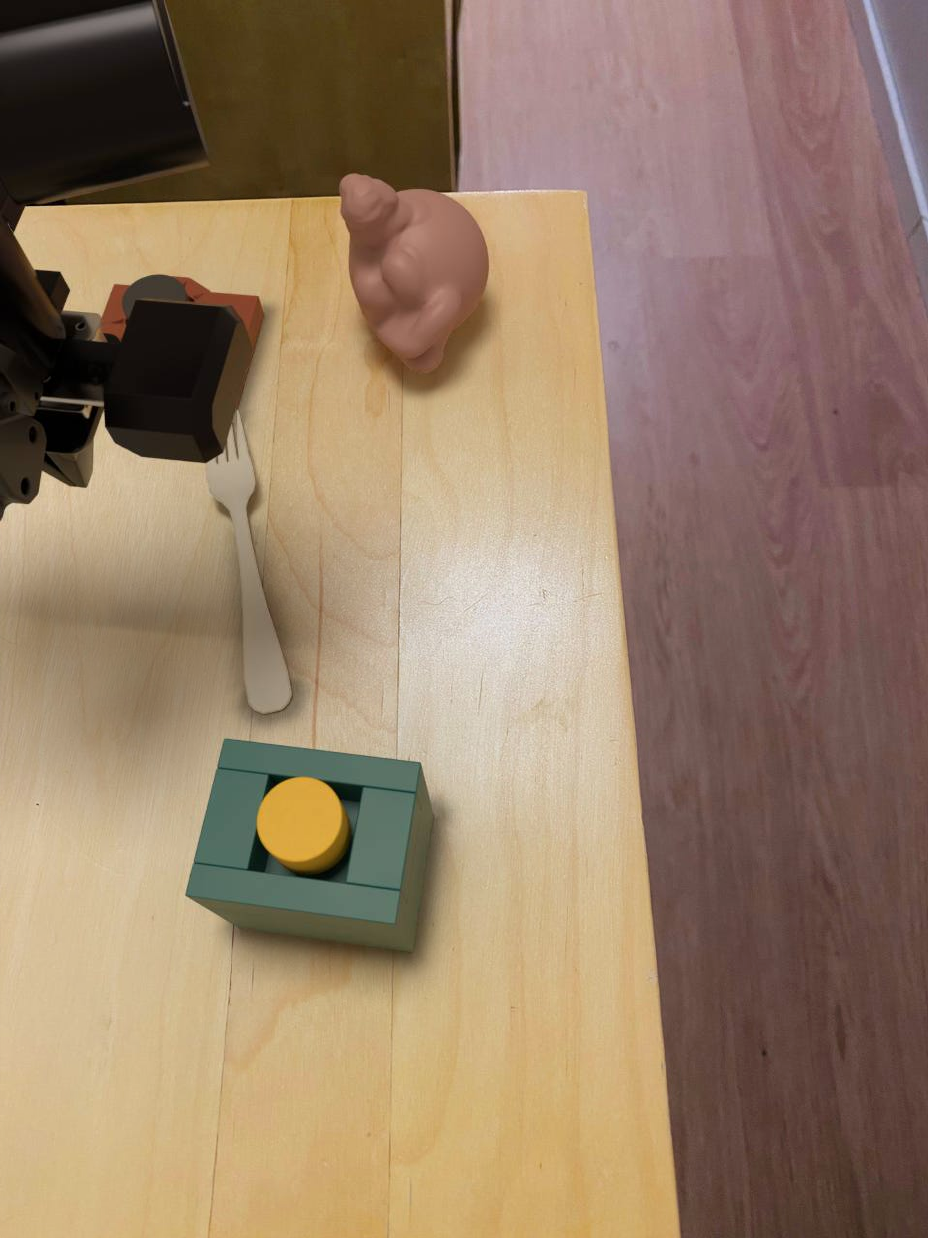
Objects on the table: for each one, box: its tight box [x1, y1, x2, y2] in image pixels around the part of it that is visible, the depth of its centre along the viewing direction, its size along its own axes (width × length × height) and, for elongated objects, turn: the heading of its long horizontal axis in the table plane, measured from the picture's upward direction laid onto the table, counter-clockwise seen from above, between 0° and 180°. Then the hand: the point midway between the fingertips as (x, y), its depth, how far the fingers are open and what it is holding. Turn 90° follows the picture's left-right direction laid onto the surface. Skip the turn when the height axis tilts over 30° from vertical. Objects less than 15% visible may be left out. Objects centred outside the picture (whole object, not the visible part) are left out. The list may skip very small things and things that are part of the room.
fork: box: [205, 409, 293, 715], centre depth 59 cm, size 3×21×3 cm, turn 13°
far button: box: [122, 273, 190, 320], centre depth 62 cm, size 4×4×2 cm
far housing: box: [101, 275, 265, 410], centre depth 65 cm, size 10×8×4 cm
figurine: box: [338, 173, 490, 374], centre depth 61 cm, size 9×11×12 cm
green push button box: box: [184, 737, 435, 953], centre depth 47 cm, size 9×7×10 cm
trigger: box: [257, 777, 351, 875], centre depth 43 cm, size 4×4×3 cm
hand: (82, 479), depth 47 cm, fingers closed
